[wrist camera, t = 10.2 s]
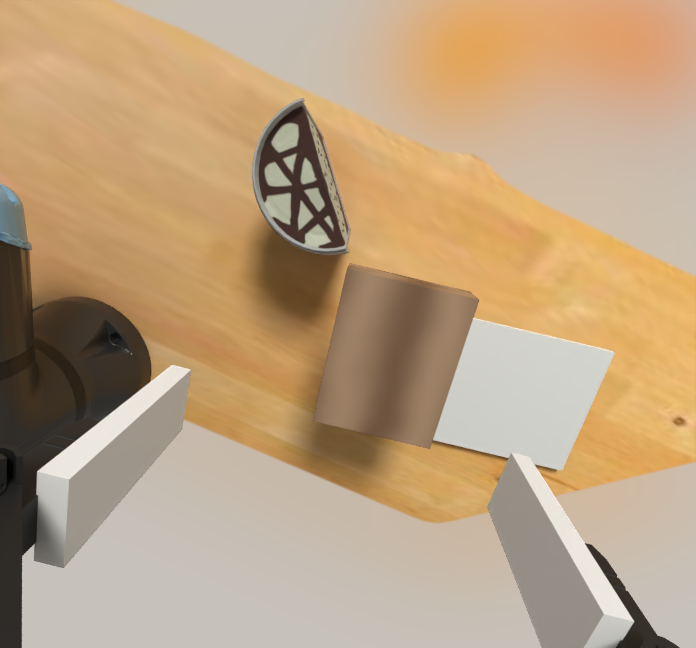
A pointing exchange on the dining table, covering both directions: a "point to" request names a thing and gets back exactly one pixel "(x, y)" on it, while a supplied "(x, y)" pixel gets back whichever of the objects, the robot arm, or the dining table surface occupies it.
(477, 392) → the rubber mat
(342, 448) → the dining table surface
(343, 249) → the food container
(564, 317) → the dining table surface
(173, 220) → the dining table surface
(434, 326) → the walnut board
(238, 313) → the dining table surface
